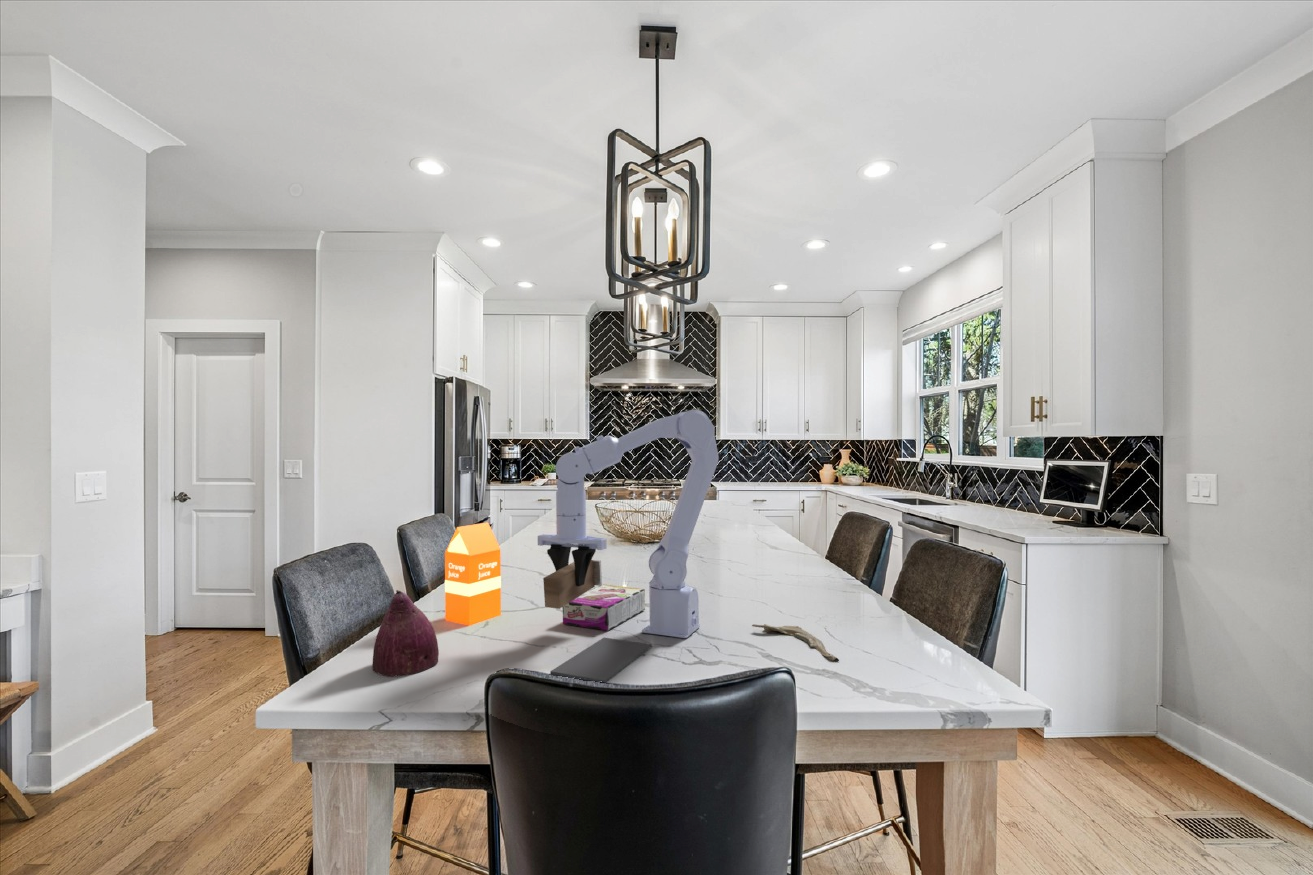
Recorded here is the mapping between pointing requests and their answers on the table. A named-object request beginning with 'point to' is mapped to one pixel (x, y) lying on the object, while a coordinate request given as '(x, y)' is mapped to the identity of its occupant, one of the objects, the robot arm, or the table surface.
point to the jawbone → (800, 637)
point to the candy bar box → (604, 607)
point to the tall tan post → (569, 584)
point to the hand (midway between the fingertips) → (571, 584)
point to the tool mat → (602, 659)
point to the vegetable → (404, 640)
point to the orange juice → (472, 575)
